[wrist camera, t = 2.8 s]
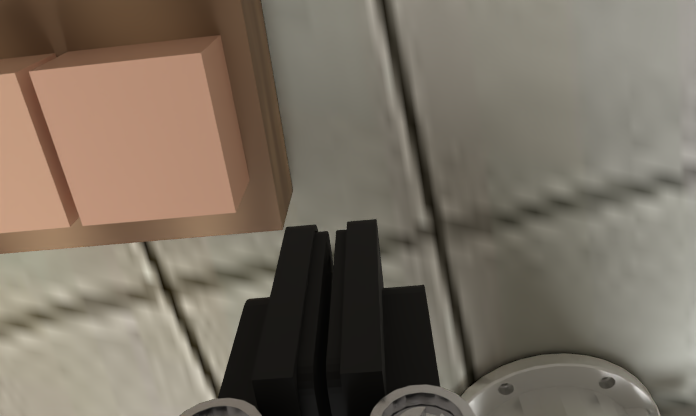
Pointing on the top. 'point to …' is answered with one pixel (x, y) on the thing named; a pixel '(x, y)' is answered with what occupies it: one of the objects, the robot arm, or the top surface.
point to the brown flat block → (155, 26)
